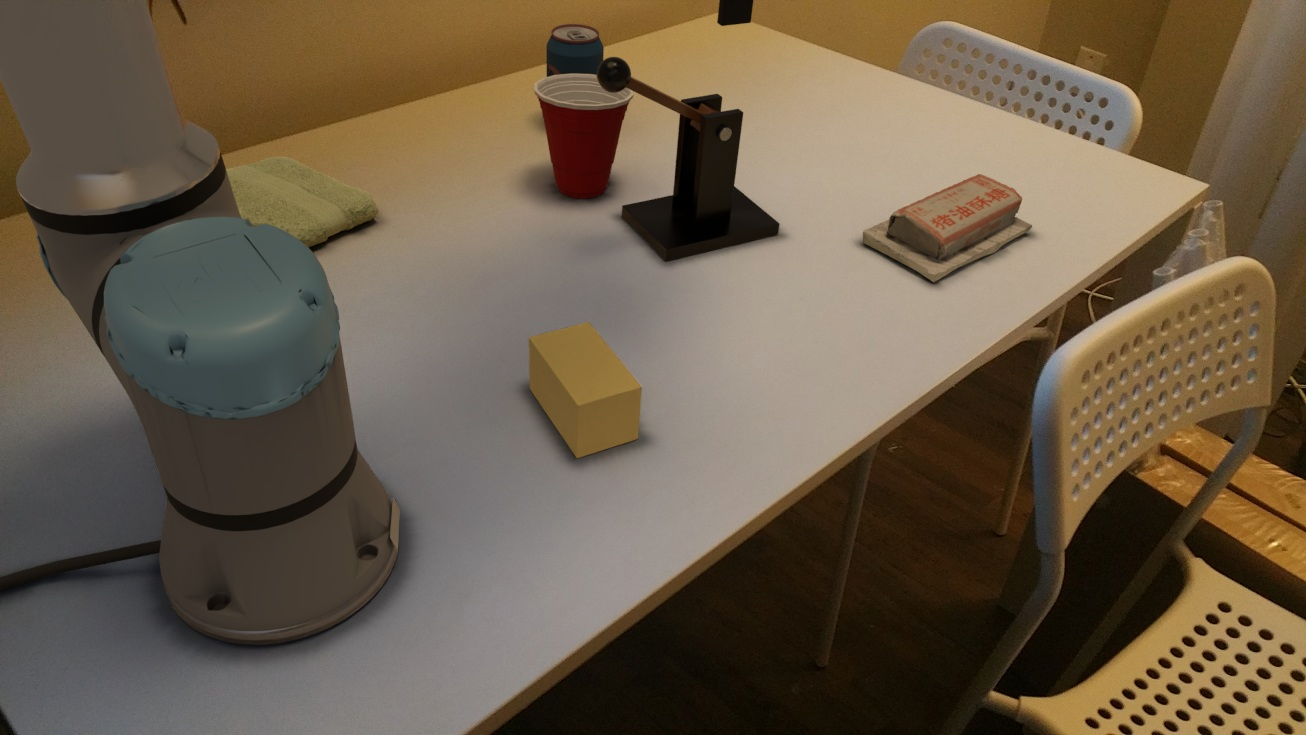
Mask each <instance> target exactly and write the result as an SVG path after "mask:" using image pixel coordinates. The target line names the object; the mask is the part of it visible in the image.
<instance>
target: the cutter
mask: <svg viewBox="0 0 1306 735" xmlns="http://www.w3.org/2000/svg"><path fill="white" fill-rule="evenodd" d="M680 101H681V102H683V103H685V104H687V105H689V106H691V107H693V108H695V109H697V110H698V108H699V107H700V105H701V104H704V105H706V106H708V107H710V108H712V109H714V110H716V111H718V112H716V113H710V114H704V115H701V123H700V132H699V131H698V130H696V129H695V128H694V127H693V126H691V125H690V123H691V121H692V120H691V119H689V118H687V117H685V116H683V115H681V114H679V120H678V131H677V132H678V133H677V143H676V145H677V146H676V153H675V154H676V156H675V157H676V158H675V167H674V179H673V180H674V181H673V191H672V194H671V195H665V196H662V197H661V196H660V197H657V198H651V199H646V200H642V201H637V202H633V203H628V204H623V205H621V217H622V218H623V220H624V221H625V222H626V223H627V224H628V225H629V226H630V227H631V228H632V229H633V230H634V231H635V232H636V233H637V234H638V235H639V236H640V237H641V238H642V239H643V240H644V241H645V242H646V243H647V244H648V245H649V246H650V247H651V248H652V249H653V250H655V252H656V253H657V254H658V255H659V256H660V257H661V258H662V259H663V260H664V261H665V262H669V261H674V260H677V259H682V258H687V257H690V256H695V255H698V254H702V253H707V252H711V251H715V250H719V249H724V248H728V247H733V246H736V245H740V244H741V245H742V244H744V243H749V242H754V241H757V240H762V239H766V238H769V237H774V236H778V235H779V231H780V225H781V224H780V223H779V222H778V221H777V219H775V218H773V217H772V216H771V215H770V214H768V212H767V211H765V210H764V209H762V207H760V206H759V205H758V204H757V203H756V202H754V201H753V200H752V199H751V198H749V197H748V196H747V195H746V194H744V193H743V192H742V191H741V190H740V189H738V188H737V187H736V186H735V183H736V175H737V166H738V160H739V153H740V152H739V151H740V143H741V134H742V128H743V119H744V111H742V110H741V109H740V108H735V109H728V110H722V104H723V96H722V95H720V94H719V93H713V94H712V93H711V94H708V95H701V96H695V97H694V96H693V97H688V98H682V99H680Z"/></svg>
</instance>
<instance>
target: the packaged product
mask: <svg viewBox="0 0 1306 735" xmlns="http://www.w3.org/2000/svg"><path fill="white" fill-rule="evenodd" d="M1022 202H1023V197H1022V195H1020V194H1019V193H1018V192H1017V189H1015V188H1013V187H1010V186H1008V185H1007V184H1004V183H1001V182H1000V181H998V180H996V179H994V178H991V177H989V176H986V175H984V174H980V173H978V174H975V175H974V176H971V177H969V178H966V179H963V180H962V181H960V182H957V183H954V184H953V185H951V186H948V187H946V188H943V189H941V190H940V191H936V192H935V193H933V194H930V195H928V196H926V197H924V198H922V199H919V200H917V201H914V202H912V203H910V204H909V205H905V206H903V207H901V208H899V209H897V210H895V211H893V212H892V214H891V215H889V219H886V220H885V221H881V222H880V223H878V224H876V225H873V226H871V227H869V228H866V229H864V230H863V231H862V243H863V244H865V245H866V246H869V247H871V248H872V249H875V250H876V251H879V252H880V253H882V254H883V255H886V256H888V257H889V258H892V259H893V260H896V261H897V262H899V263H901V264H903V265H904V266H907V267H908V268H910V269H912V270H914V271H915V272H918V273H919V274H921V275H922V276H924V277H925V279H926V278H927V279H928V280H930V281H931V282H932V283H935V282H937V281H938V280H940V279H942V278H943V277H945V276H947V275H948V274H950V273H952V272H953V271H955V270H957V269H958V268H960V267H963V266H966V265H967V264H970V263H972V262H974V261H976V260H978V259H981V258H982V257H986V256H989V255H992V254H994V253H996V252H998V250H1000V248H1001V247H1003V246H1004V245H1005V244H1008V243H1010V242H1011V241H1012V240H1014V239H1016V238H1018V237H1020V236H1022V235H1024V234H1026V233H1028V232H1029V231H1030V230H1031V229H1033V224H1031V223H1029V222H1027V221H1024V220H1022V219H1021V218H1019V217H1018V216H1016V215H1017V214H1018V213H1019V211H1020V208H1021V205H1022Z"/></svg>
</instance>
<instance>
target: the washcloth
mask: <svg viewBox="0 0 1306 735" xmlns="http://www.w3.org/2000/svg"><path fill="white" fill-rule="evenodd" d="M226 171H227V174H228V177H229V181H230V184H231V187H232V190H233V194H234V197H235V200H236V204H237V207H238V210H239V213H240V215H241V218H243V219H248V220H249V221H250V223H251V225H252V227H254V226H259V225H261V224H263V223H266V224H269V225H272V226H275V227H277V228H279V229H282V230H284V231H286V232H287V233H289V234H291V235H293V236H294V237H296V238H297V239H299V240H300V241H301V242H303V243H304V244H305V245H306V246H307V247H308V248H310V247H313V246H316V245H318V244H321V243H323V242H327V240H328V238H329V237H331V236H334V235H336V234H338V233H340V232H344V231H349V230H350V229H351V230H352V229H353V228H354V227H357V226H359V225H362V224H364V223H366V222H370V221H372V219H373V218H376V217H377V216H378V214H379V209H378V207H377V204H376V202H375V200H374V198H373V197H372V195H371V194H370V193H369V192H368V191H367V190H364V189H361V188H359V187H356V186H353V185H348V184H346V183H343V182H342V181H339V180H338V179H336V177H334V176H331V175H328V174H326V173H323V172H321V171H318V170H315V169H313V168H311V167H309V166H307V165H305V164H303V163H302V162H300V161H298V160H296V159H294V158H292V157H289V156H280V155H279V156H278V155H277V156H270V157H266V158H263V159H261V160H259V161H255V162H252V163H247V164H243V165H237V166H234V167H230V168H226Z"/></svg>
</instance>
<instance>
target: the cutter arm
mask: <svg viewBox="0 0 1306 735" xmlns="http://www.w3.org/2000/svg"><path fill="white" fill-rule="evenodd" d="M597 80H598V83H599V84H600V86H601V87H602V88H603V89H604V90H606V91H608V92H611V93H617V92H620V91H622V90H624V89H625V88H628V89H630V90H632V91H633V92H634V93H636V94H638V95H640V96H642V97H644V98H646V99H649V100H651V101H653V102H655V103H657V104H659V105H660V106H662V107H665V108H666V109H669V110H671V111H673V112H675V113H677V114H679V115H680V114H681V115H683V116H685V117H687V118H689V119H691V120H692V121H691V123H690V125H691V126H693V127H694V128H695V129H696V130H698V131H699V132H700V123H701V115H704V114H710V113H716V112H718V111H716V110H714V109H712V108H710V107H708V106H706V105H704V104H701V105H700V107H699V108H698V110H697V109H695V108H693V107H691V106H689V105H687V104H685V103H683V102H681V100H679V99H677V98H675V97H673V96H671V95H669V94H667V93H665V92H663V91H661V90H659V89H657V88H655V87H653V86H652V85H649V84H647V83H645V82H643V81H641V80H639V79H637V78H635V77H634V76H632V71H631V68H630V66H629V63H628V62H627V61H626V60H624V59H623V58H621V57H618V56H609V57H606V58H605V59H603V61H602V62H601V63H600V65H599V67H598V69H597Z"/></svg>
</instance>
